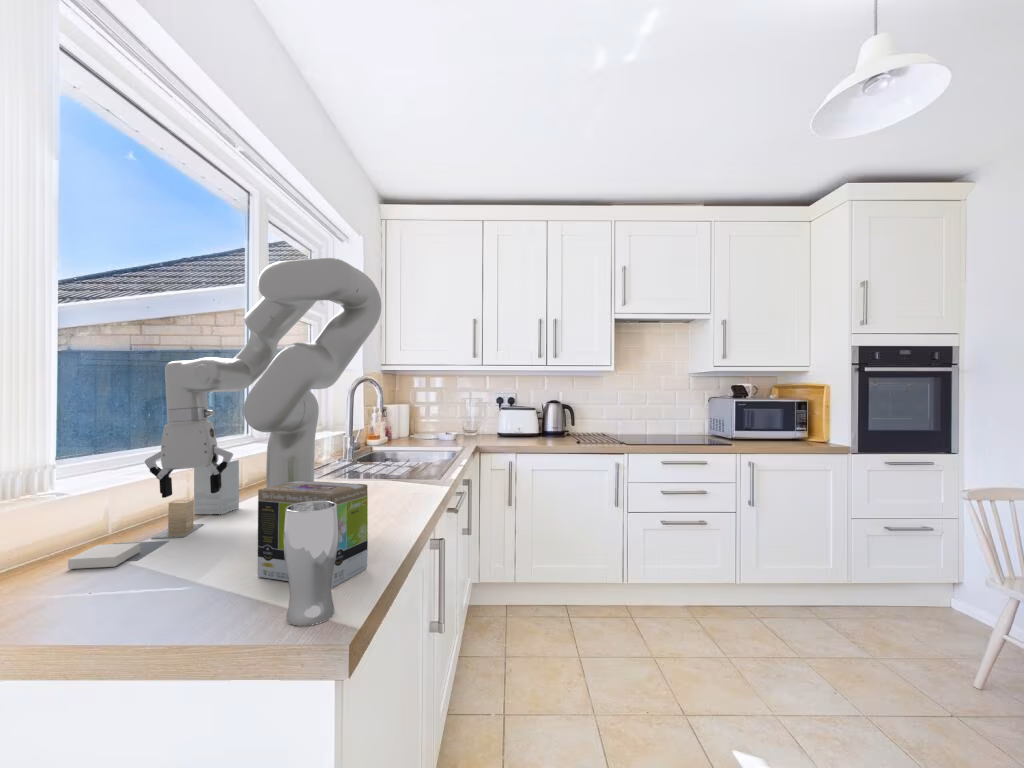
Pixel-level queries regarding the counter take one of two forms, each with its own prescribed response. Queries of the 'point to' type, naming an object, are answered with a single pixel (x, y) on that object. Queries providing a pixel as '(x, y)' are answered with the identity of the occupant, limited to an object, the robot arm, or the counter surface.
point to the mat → (145, 549)
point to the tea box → (349, 525)
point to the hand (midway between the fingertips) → (191, 494)
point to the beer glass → (310, 560)
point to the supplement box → (220, 500)
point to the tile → (104, 556)
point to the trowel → (179, 520)
